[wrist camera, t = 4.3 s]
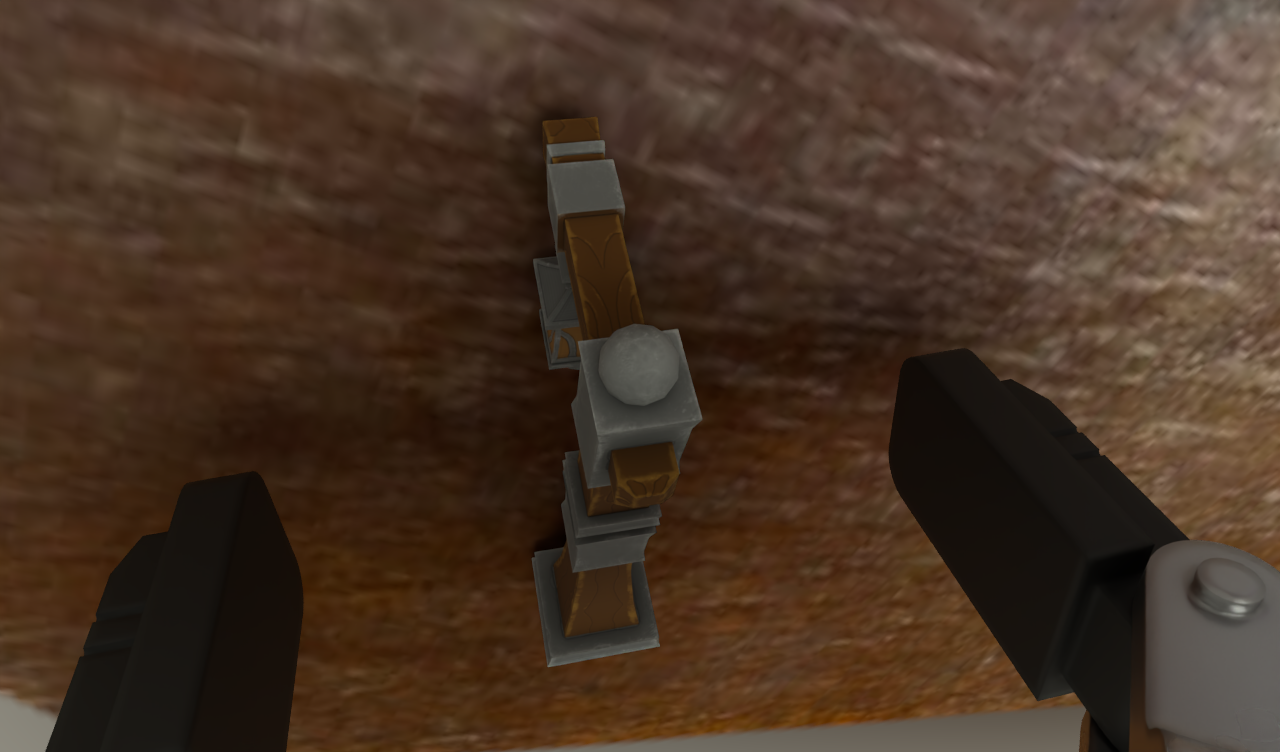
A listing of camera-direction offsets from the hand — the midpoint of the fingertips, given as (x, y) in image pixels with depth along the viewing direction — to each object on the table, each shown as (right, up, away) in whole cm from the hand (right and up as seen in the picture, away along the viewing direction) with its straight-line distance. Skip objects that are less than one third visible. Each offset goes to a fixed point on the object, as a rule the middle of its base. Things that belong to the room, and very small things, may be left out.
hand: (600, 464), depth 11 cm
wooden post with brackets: (-1, +1, +2) cm, 2 cm away
